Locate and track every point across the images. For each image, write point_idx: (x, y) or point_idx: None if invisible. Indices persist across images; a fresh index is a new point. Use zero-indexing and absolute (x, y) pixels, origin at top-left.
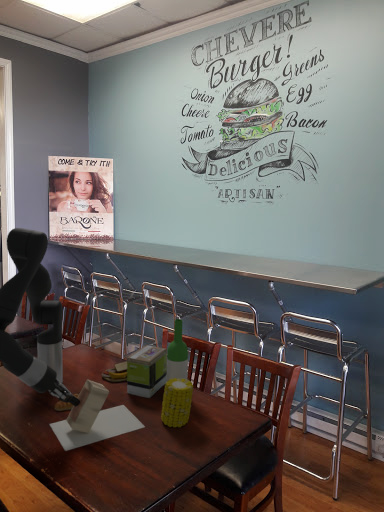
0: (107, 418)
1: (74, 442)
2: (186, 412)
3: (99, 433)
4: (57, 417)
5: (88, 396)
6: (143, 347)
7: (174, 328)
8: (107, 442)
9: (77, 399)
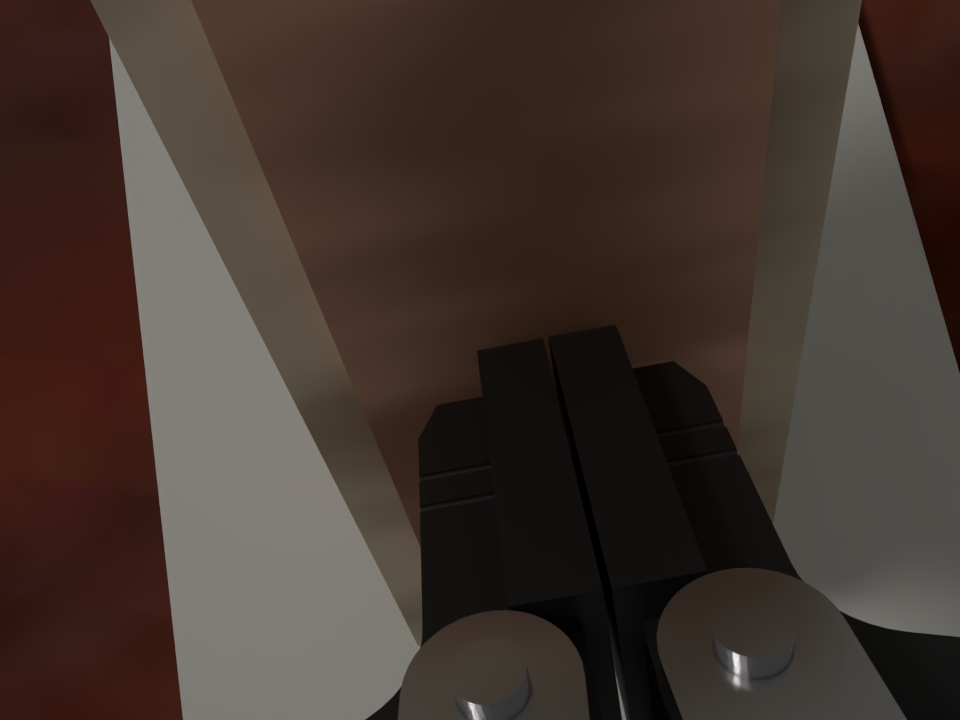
0: None
1: (863, 560)
2: None
3: None
4: (16, 705)
5: (842, 4)
6: None
7: None
8: (938, 126)
9: (637, 396)
